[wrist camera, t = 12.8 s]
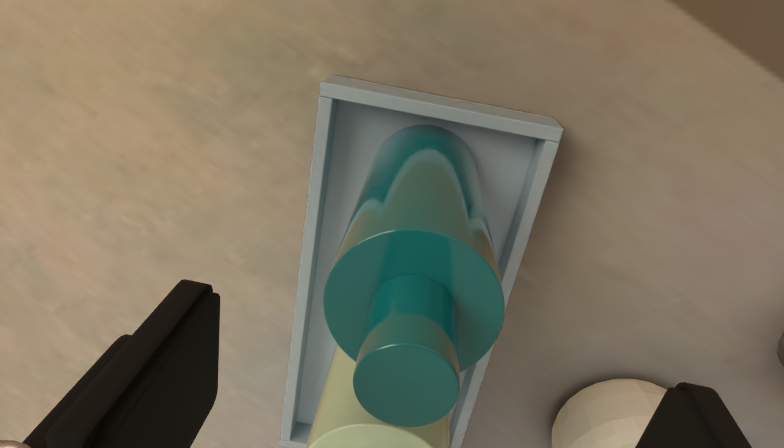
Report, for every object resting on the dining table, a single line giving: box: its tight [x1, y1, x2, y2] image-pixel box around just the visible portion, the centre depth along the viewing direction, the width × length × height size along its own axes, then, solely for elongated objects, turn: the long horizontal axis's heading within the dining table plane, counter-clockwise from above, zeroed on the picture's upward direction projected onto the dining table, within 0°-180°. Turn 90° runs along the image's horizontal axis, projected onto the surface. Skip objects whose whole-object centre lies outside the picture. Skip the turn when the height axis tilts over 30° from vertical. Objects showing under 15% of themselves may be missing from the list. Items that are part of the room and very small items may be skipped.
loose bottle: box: [323, 125, 505, 427], centre depth 18 cm, size 5×5×14 cm
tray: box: [279, 74, 564, 448], centre depth 27 cm, size 21×10×2 cm, turn 170°
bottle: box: [306, 343, 450, 448], centre depth 21 cm, size 5×5×14 cm
